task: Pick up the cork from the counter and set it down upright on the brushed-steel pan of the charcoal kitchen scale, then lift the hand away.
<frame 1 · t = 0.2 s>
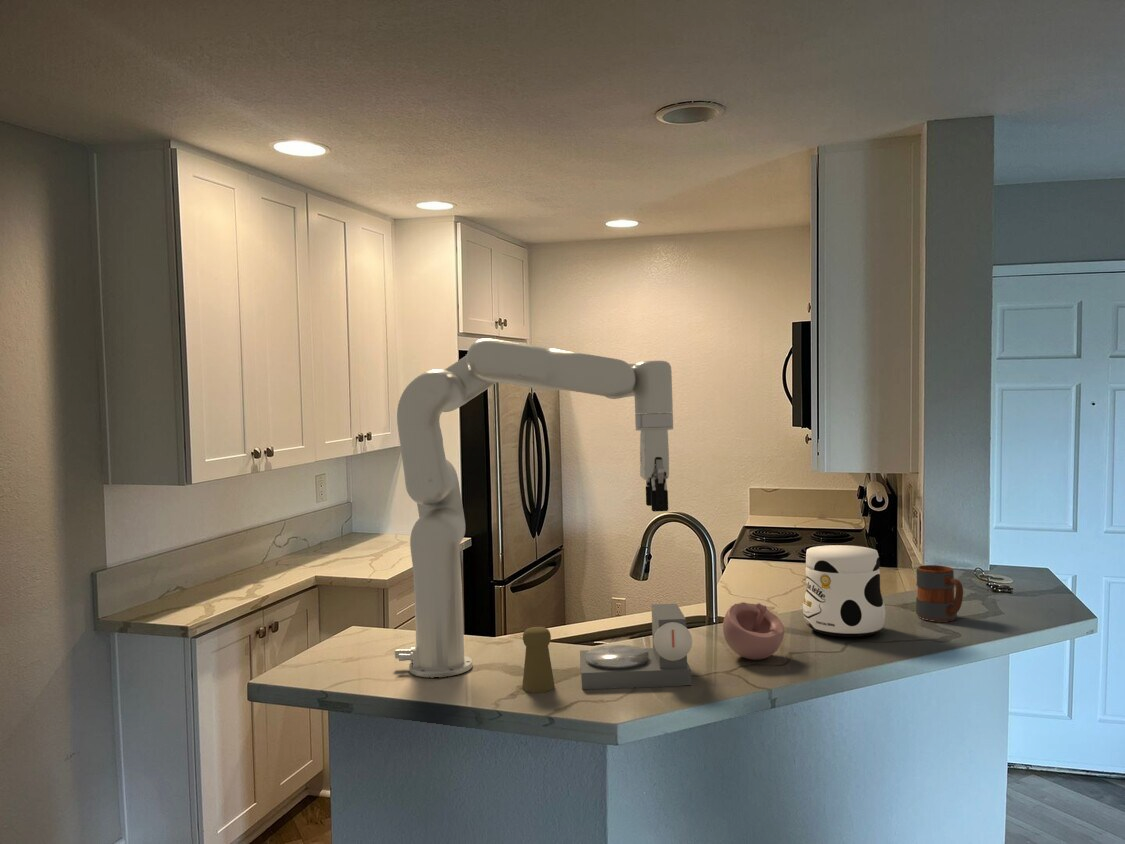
hand: (656, 508, 163), 31 cm above the worktop, tool pointing down, fingers open, 9 cm apart
mortar and pestle: (754, 659, 163), on the worktop
mug: (942, 620, 187), on the worktop
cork: (538, 688, 150), on the worktop
milk container: (844, 632, 180), on the worktop
scale pan: (617, 656, 155), point 4 cm above the worktop, slide at 0.8 cm
scale: (633, 675, 155), on the worktop
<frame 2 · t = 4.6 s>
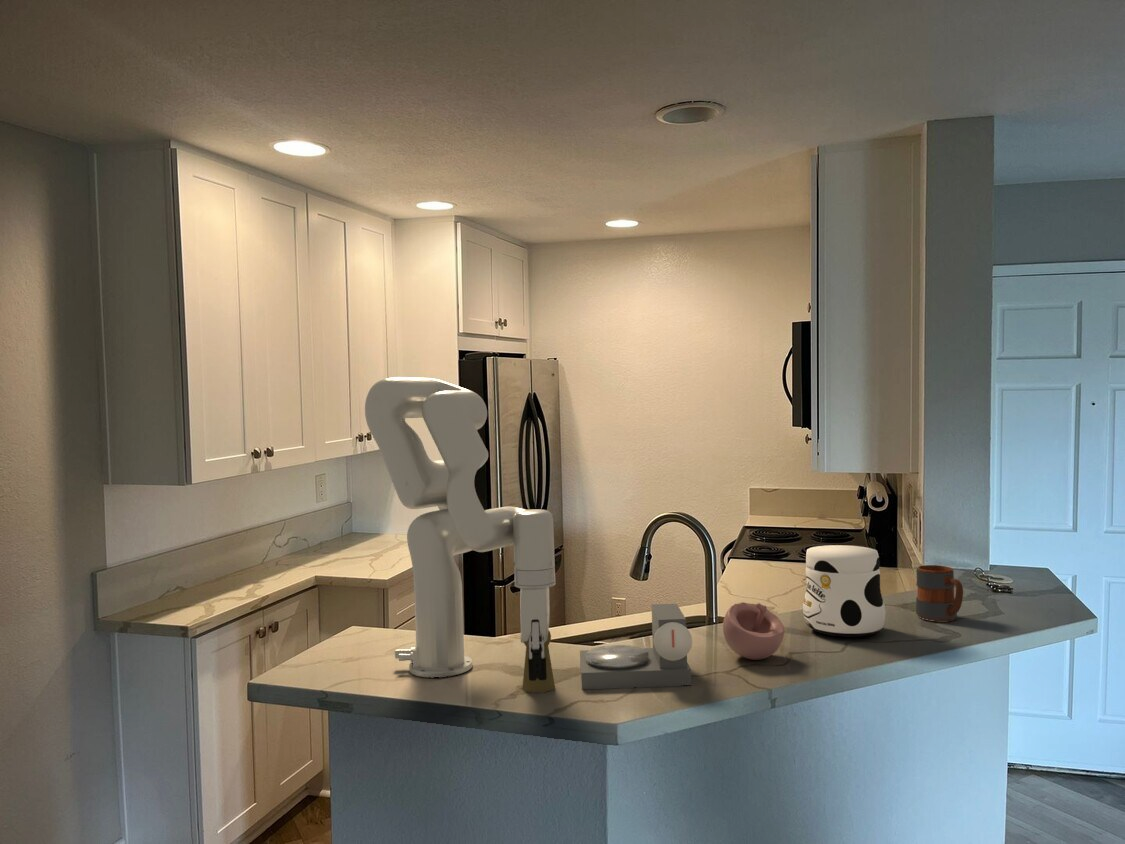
hand: (538, 674, 150), 2 cm above the worktop, tool pointing down, fingers closed on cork, 4 cm apart
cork: (538, 688, 150), on the worktop, touching gripper
everything else where it was.
when the fingers open (9 cm above the worktop, at t = 10.3 s): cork stays where it is, resting on scale pan.
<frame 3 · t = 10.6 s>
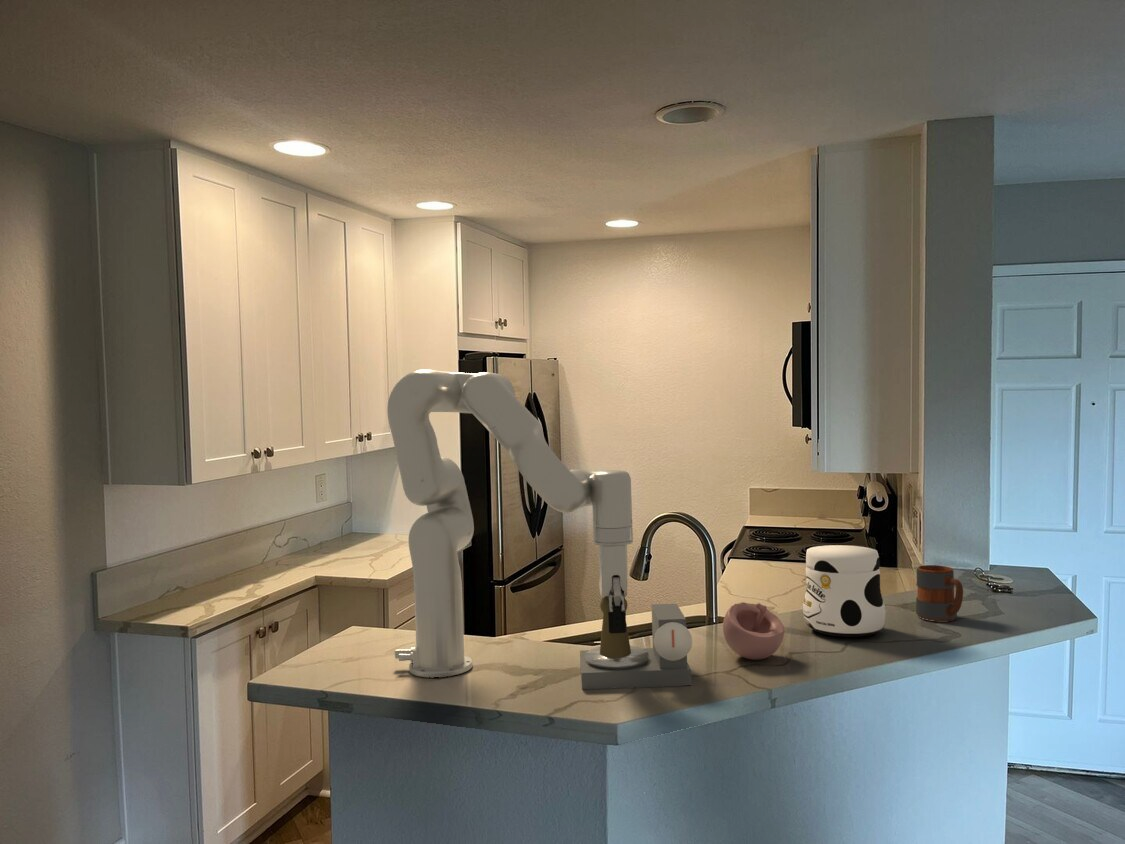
hand: (615, 626, 155), 10 cm above the worktop, tool pointing down, fingers open, 8 cm apart
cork: (615, 653, 156), point 4 cm above the worktop, touching scale pan
scale pan: (617, 656, 155), point 4 cm above the worktop, slide at 0.9 cm, touching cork
everything else where it was.
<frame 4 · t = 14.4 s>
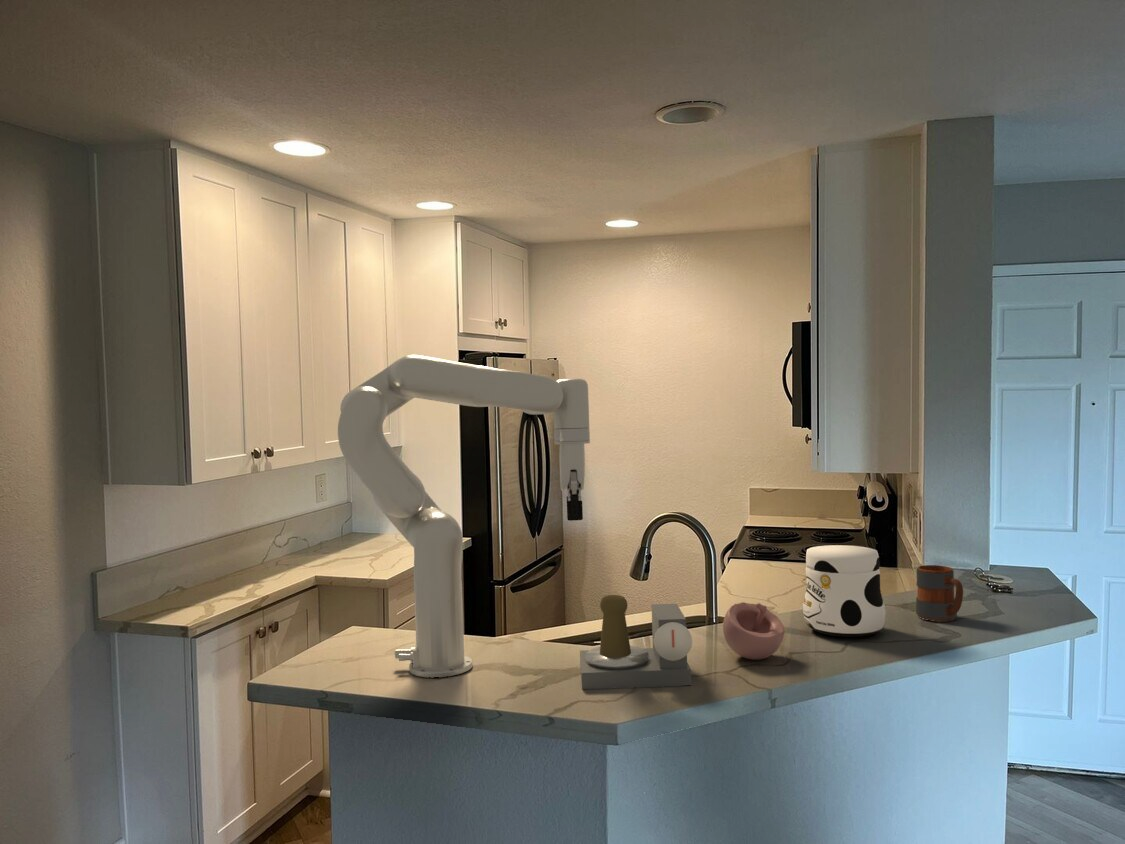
hand: (574, 517, 173), 28 cm above the worktop, tool pointing down, fingers open, 9 cm apart
nothing on the worktop moved.
at the end: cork inside the target area on the scale (0.9 cm from its centre), point 3.9 cm above the scale's base; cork tilted 0°; the gripper is holding nothing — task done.
